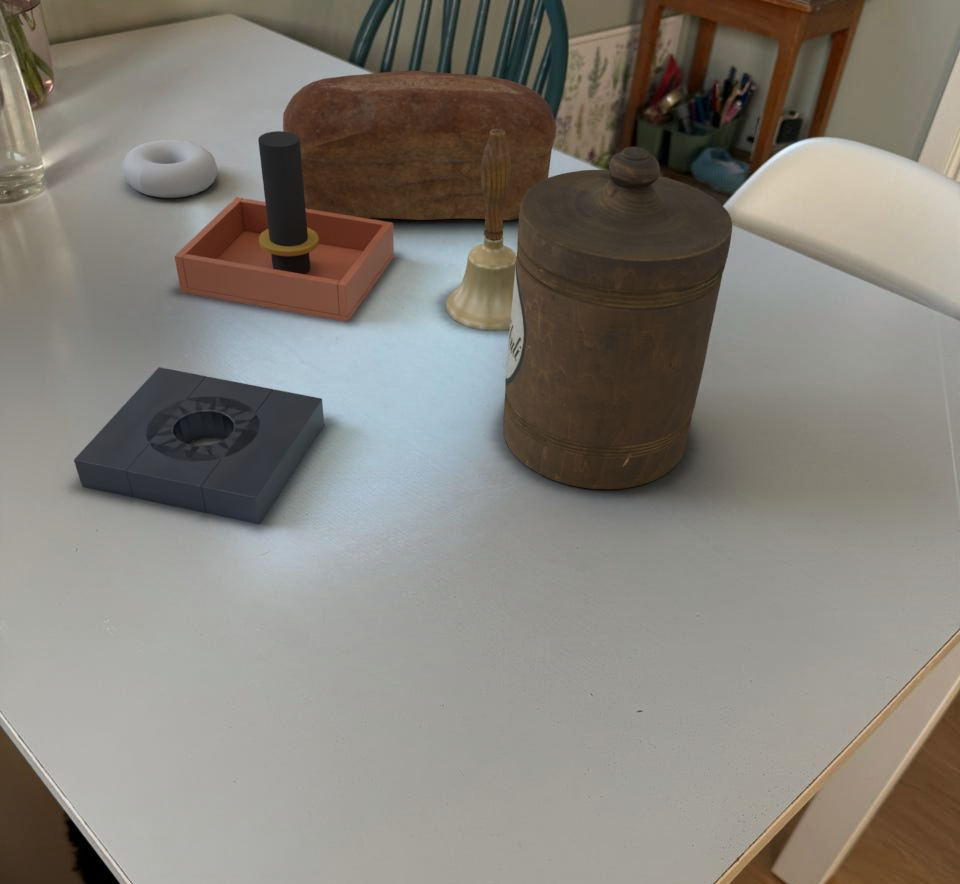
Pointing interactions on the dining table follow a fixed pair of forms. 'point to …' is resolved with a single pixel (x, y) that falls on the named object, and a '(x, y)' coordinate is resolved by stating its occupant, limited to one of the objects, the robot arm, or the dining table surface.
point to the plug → (285, 203)
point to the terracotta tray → (252, 280)
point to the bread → (415, 143)
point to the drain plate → (203, 468)
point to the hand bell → (489, 251)
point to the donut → (170, 168)
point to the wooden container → (611, 321)
